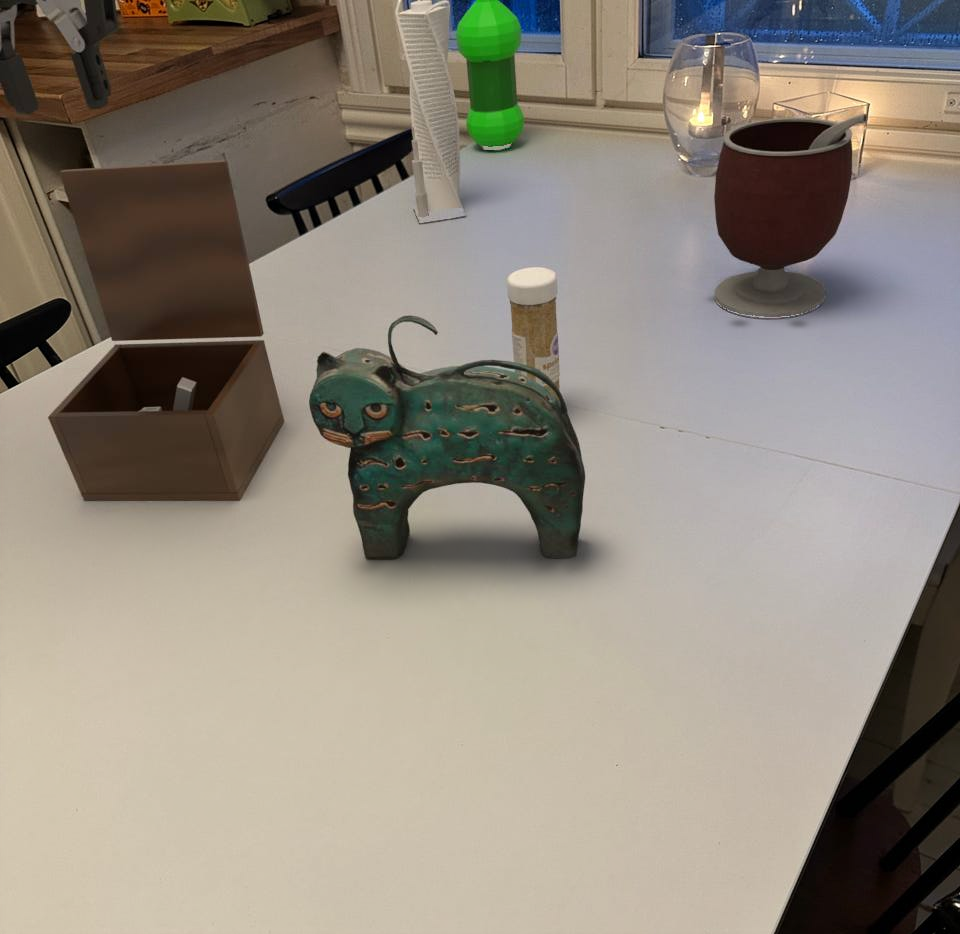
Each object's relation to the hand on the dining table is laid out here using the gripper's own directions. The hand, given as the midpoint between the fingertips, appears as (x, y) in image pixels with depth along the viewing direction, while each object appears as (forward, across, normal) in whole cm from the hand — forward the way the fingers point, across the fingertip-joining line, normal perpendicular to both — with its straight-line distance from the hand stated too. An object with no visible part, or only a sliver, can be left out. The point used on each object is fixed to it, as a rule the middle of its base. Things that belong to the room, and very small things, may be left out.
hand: (63, 108), depth 73 cm
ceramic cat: (+32, -30, +13) cm, 45 cm away
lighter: (+31, 0, 0) cm, 31 cm away
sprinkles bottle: (+32, -34, -10) cm, 48 cm away
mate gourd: (+32, -59, -35) cm, 76 cm away
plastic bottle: (+32, -18, -103) cm, 109 cm away
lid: (+15, 0, -9) cm, 17 cm away
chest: (+31, 0, -1) cm, 31 cm away
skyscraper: (+32, -14, -71) cm, 79 cm away
